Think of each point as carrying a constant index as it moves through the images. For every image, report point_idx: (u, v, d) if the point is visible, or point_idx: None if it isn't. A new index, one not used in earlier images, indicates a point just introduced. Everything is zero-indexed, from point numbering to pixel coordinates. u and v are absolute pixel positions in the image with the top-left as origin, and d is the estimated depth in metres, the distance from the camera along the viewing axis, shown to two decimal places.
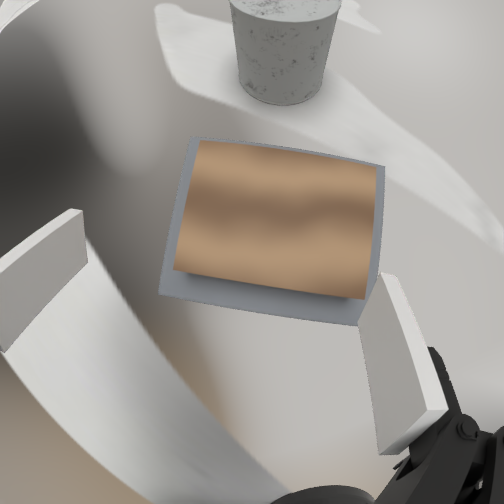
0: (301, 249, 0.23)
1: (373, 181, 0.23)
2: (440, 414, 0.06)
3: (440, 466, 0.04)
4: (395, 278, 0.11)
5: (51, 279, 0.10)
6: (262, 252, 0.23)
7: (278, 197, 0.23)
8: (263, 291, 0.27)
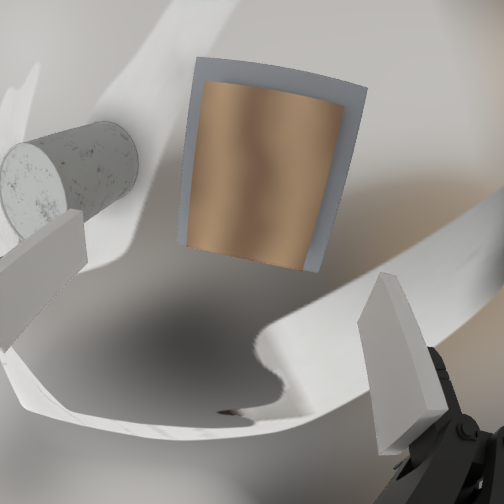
0: (292, 162, 0.23)
1: (221, 85, 0.21)
2: (440, 414, 0.06)
3: (440, 466, 0.04)
4: (395, 278, 0.11)
5: (51, 279, 0.10)
6: (293, 197, 0.25)
7: (241, 180, 0.24)
8: None
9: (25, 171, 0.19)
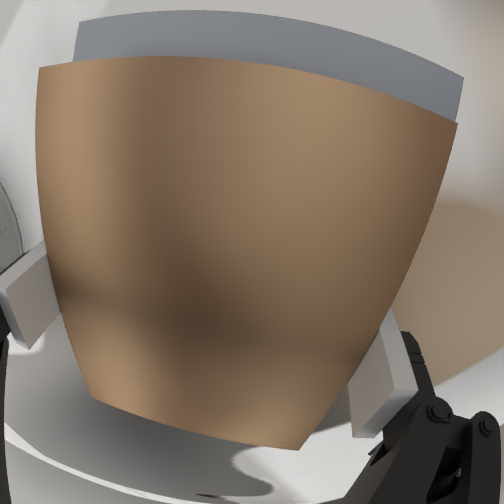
0: (283, 294, 0.08)
1: (71, 70, 0.06)
2: (410, 395, 0.06)
3: (412, 450, 0.05)
4: None
5: None
6: (284, 366, 0.09)
7: (154, 325, 0.09)
8: None
9: None
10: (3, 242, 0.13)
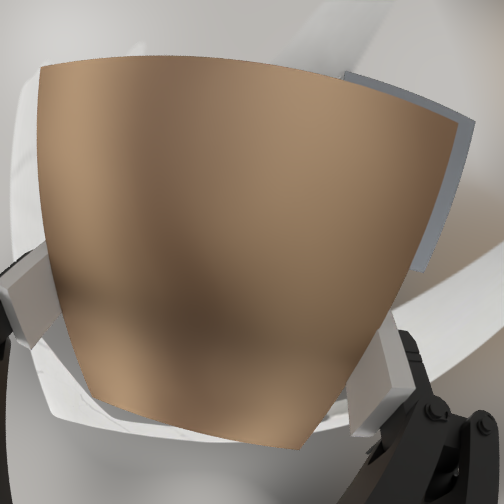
0: (285, 293, 0.08)
1: (72, 69, 0.06)
2: (408, 393, 0.06)
3: (409, 449, 0.05)
4: None
5: None
6: (285, 365, 0.09)
7: (155, 324, 0.09)
8: (439, 198, 0.29)
9: None
10: None
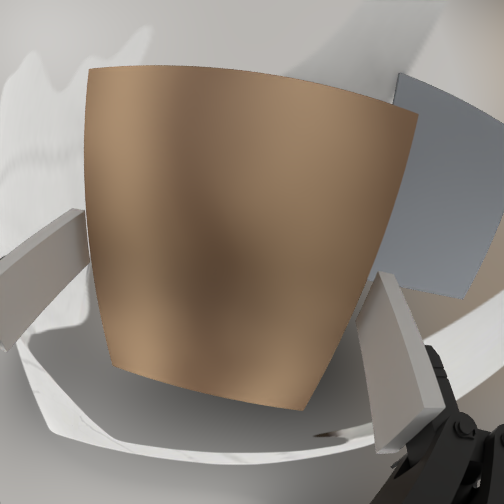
0: (288, 249, 0.10)
1: (119, 72, 0.08)
2: (437, 412, 0.06)
3: (437, 464, 0.04)
4: (393, 277, 0.11)
5: (54, 279, 0.10)
6: (289, 316, 0.12)
7: (181, 282, 0.12)
8: (486, 222, 0.24)
9: None
10: None
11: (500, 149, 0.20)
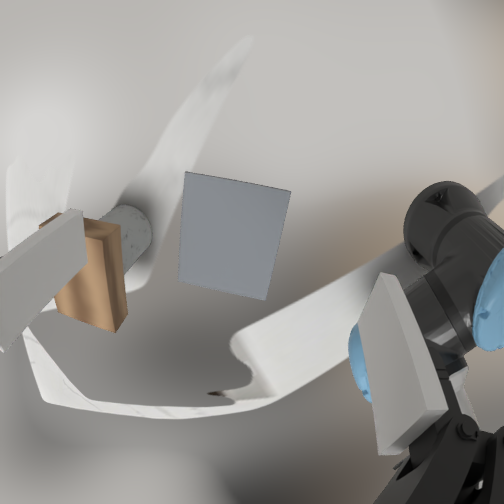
0: (87, 274, 0.35)
1: None
2: (440, 414, 0.06)
3: (440, 466, 0.04)
4: (395, 278, 0.11)
5: (51, 279, 0.10)
6: (94, 293, 0.36)
7: (69, 281, 0.36)
8: (264, 250, 0.48)
9: None
10: (148, 236, 0.49)
11: (265, 204, 0.45)
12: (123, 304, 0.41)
